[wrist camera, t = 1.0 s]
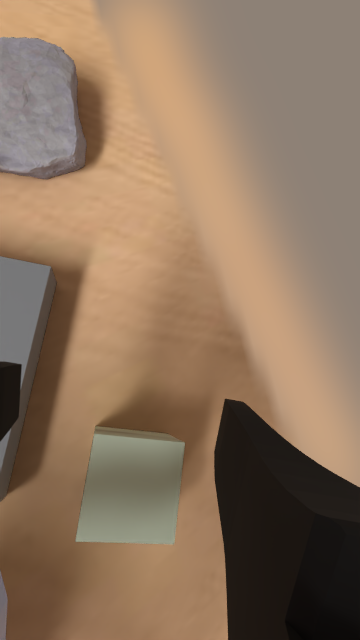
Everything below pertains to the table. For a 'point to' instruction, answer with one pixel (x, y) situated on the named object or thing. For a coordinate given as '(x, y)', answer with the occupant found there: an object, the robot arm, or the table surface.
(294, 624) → the robot arm
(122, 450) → the sage green cube
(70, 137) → the stone block
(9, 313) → the stacking base
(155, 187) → the table surface
